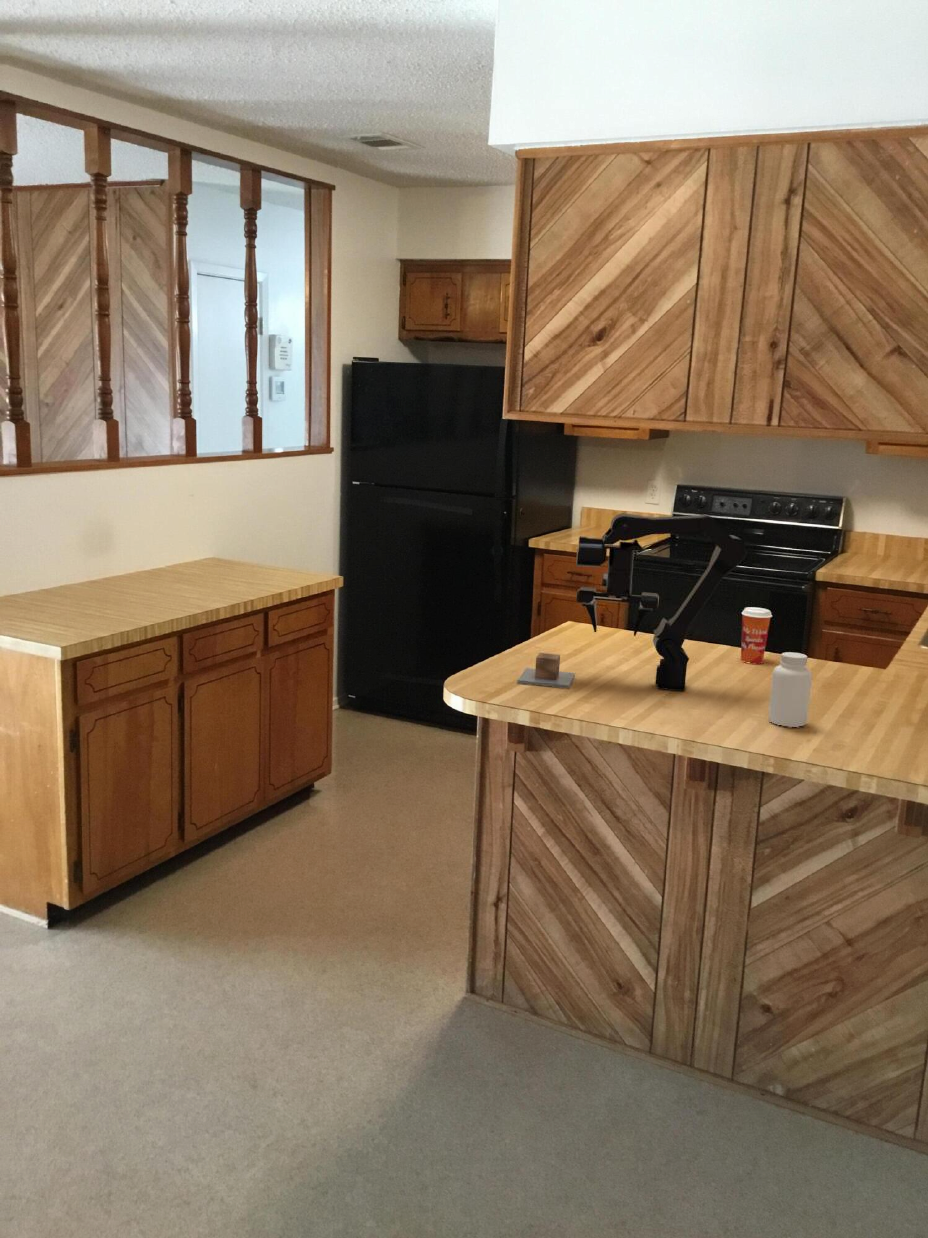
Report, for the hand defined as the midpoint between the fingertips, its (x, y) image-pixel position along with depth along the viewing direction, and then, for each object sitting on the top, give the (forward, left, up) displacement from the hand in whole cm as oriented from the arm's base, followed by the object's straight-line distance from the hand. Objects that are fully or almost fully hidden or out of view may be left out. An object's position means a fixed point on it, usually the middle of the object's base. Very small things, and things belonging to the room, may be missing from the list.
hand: (615, 633), depth 252 cm
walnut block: (+15, +3, -11) cm, 19 cm away
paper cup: (-34, -37, -12) cm, 52 cm away
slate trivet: (+15, +3, -12) cm, 19 cm away
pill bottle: (-39, +18, -12) cm, 45 cm away
